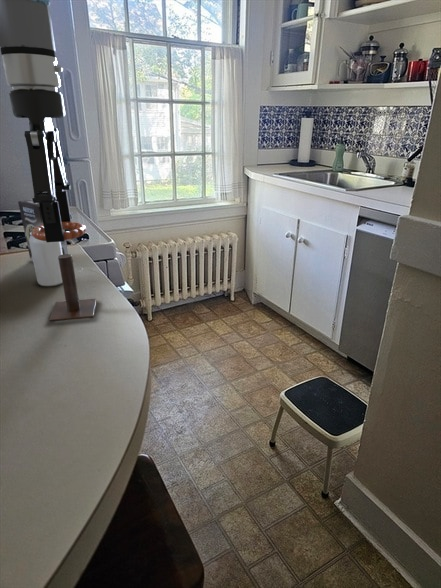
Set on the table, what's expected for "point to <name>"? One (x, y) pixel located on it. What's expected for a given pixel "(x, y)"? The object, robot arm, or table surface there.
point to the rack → (71, 295)
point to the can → (46, 261)
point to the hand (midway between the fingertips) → (60, 233)
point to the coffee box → (33, 221)
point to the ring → (75, 232)
